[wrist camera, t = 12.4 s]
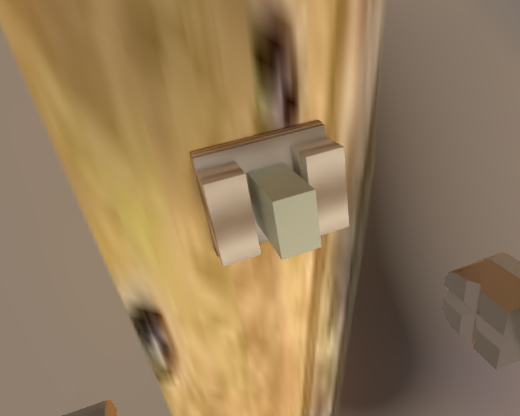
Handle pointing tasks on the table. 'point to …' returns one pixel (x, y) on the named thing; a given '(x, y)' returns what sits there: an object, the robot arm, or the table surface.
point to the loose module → (285, 209)
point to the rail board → (259, 156)
